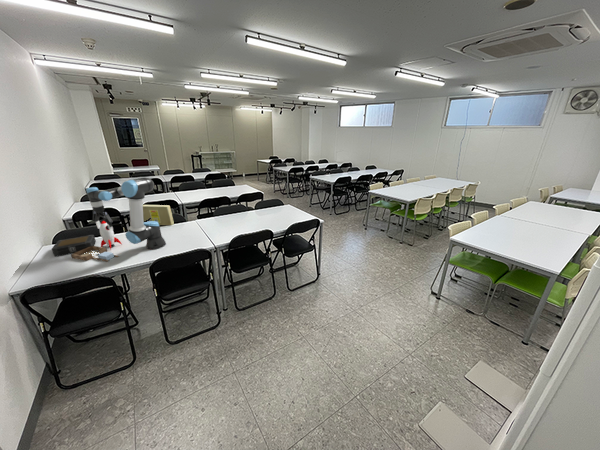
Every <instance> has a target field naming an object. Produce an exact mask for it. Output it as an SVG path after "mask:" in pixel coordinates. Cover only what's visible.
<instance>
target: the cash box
mask: <svg viewBox="0 0 600 450" xmlns="http://www.w3.org/2000/svg"><path fill="white" fill-rule="evenodd" d="M96 240H97V239H96V238H95V235H94V234H87V235H82V236H76V237H70V238H66V239H65V238H64V239H59V240H57V241H56V243H54V245H53V246H52V248H51V251H52V253H53V255H54V257H61V256H66V255H71V254H73V253H75V252H78V251H80V250H83V249H85V248H88V247H90V246H96V243H97V241H96Z"/></svg>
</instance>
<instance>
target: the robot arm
mask: <svg viewBox="0 0 600 450" xmlns="http://www.w3.org/2000/svg"><path fill="white" fill-rule="evenodd" d="M154 189H155V183H154V181H153V180H152V179H151V178H149V177H147V176H146V177H144V176H143V177H139V178H135V179H128V180H125V181H124V182H122V184H121V186H119V187H114V188H113V187H112V188H108V189H105V190H100V189H99V188H98V187H96V186H92V187H88V188H86V189H85V190H86V195H87V197H88V200H89V202H90V206H91V207H92V221H93V222H95V224H96V227H97V229H99V230H100V226H101V222H100V218H102V219H103V221H105V222H106V223H107V225H108V228H109V231H111V230H113V231H114V227H113V224H112V223H113V222H114V221H113V219H112V218H111V217H110V215H109V214H108V212H107V211H105V205H104V203H103V201H104V202H107V201H108V202H109V201H110V200H112V199H115V198H119V197H124V196H125V198H126V199H128V206H129V219H130V226H128V231H126V232H125V238H126V239H127V241H128V242H129V243H131V244H133V245H137V244H139V243H141V242H144V241H146V245H145V247H146V248H147V249H148V250H157V249H161V248H163V247H165V246H166V245H167V243H166V240H165V238H164V237H163V235H162V232H161V227H160V225H159V223H158V222H156V221H147V222H143V205H144V204H143V203H144V202H143V200H145V196H146V195H145V194H146V193H147V194H148V193H149V192H152V191H153V190H154Z"/></svg>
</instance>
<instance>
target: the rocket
mask: <svg viewBox="0 0 600 450" xmlns="http://www.w3.org/2000/svg"><path fill="white" fill-rule="evenodd" d="M100 224H101V226H100V229H99V234H100V236H101V239H102V240H101V242H100V247H103V248H104V246H105V245H107V246H108V248H109V249H110V250H112V248H113V247H116V246H115V245H116V244H115V243H118V244H120V245H123V244H122V242H121V240H119V239H118V238H117V237H115V232H114V229H113V230H111V231H109V228H108V225H107V222H106V221H105V220H102V221H101V222H100Z"/></svg>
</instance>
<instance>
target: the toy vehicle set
mask: <svg viewBox="0 0 600 450" xmlns="http://www.w3.org/2000/svg"><path fill="white" fill-rule="evenodd" d="M149 218H151V219H150V220H149V221H156V222H158V223H159V226H173V225H174V224H175V223H174V218H173V213H172V210H171V206H170V205H167V204H166V205H165V204H164V205H162V204H161V205H160V204H143V222H144V221H146V220H148V219H149Z"/></svg>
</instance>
